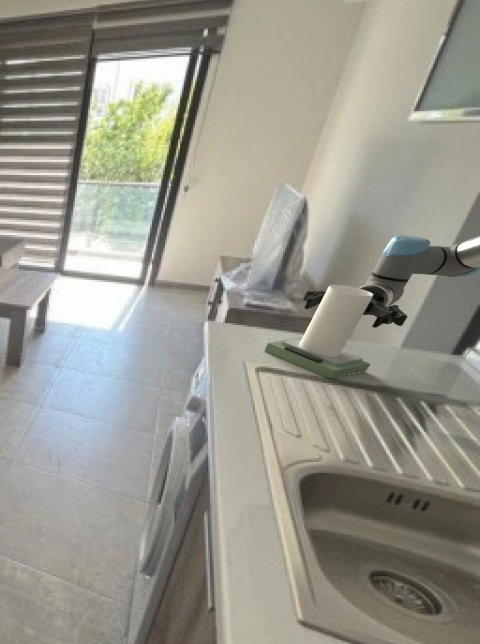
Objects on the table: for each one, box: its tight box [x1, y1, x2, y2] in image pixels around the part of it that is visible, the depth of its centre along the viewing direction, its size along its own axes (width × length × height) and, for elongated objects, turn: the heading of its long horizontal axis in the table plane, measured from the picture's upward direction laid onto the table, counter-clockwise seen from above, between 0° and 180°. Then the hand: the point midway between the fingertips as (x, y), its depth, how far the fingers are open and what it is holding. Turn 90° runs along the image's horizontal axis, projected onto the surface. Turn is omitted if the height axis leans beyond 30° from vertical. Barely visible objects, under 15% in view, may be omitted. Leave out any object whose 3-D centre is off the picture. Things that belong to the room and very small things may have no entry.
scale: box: [263, 337, 371, 379], centre depth 123 cm, size 16×14×3 cm
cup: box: [299, 284, 373, 357], centre depth 119 cm, size 8×8×16 cm
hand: (341, 312), depth 118 cm, fingers open, 13 cm apart
